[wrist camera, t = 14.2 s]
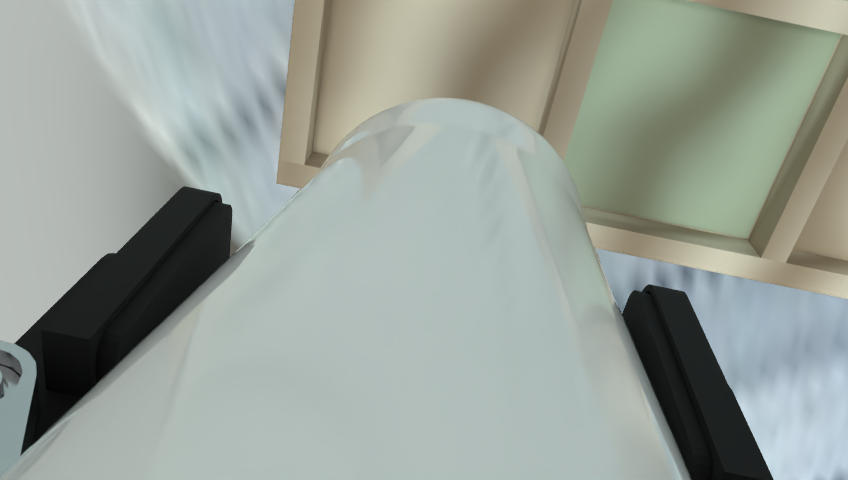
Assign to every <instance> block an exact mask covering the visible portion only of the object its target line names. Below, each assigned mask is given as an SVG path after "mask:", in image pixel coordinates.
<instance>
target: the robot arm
mask: <svg viewBox="0 0 848 480" xmlns="http://www.w3.org/2000/svg"><path fill="white" fill-rule="evenodd" d="M231 226H232V207H231V205H228V204H223V203H222V198H221V195H220V194H218V193H214V192H209V191H204V190H199V189H195V188H190V187H185V186H184V187H182V188H181V189H180V190H179V191H178V192H177V193H176V194H175V195H174V196H173V197H172V198H171V199H170V200H169V201H168V202H167V203H166V204H165V205H164V206H163V207H162V208H161V209H160V210H159V211H158V212H157V213H156V214H155V215H154V216H153V217H152V218H151V219H150V220H149V221H148V222H147V223H146V224H145V225H144V226H143V227H142V228H141V229H140V230H139V231H138V232H137V233H136V234H135V235H134V236H133V237H132V238H131V239H130V240H129V241H128V242H127V243H126V244H125V245H124V246H123V247H122V248H121V249H120V250H119V251H118V252H117V253H116V254H115V253H109V254H107V255H105V256H104V257H102V258H101V259H100V260H99V261H98V262H97V263H96V264H95V265H94V266H93V267H92V268H91V269H90V270H89V271H88V272H87V273H86V274H85V275H84V276H83V277H82V278H81V279H80V280H79V281H78V282H77V283H76V284H75V285H74V286H73V287H72V288H71V289H70V290H69V291H68V292H67V293H66V294H64V295H63V296H62V298H60V299H59V300H58V301H57V302H56V303H55V304H54V305H53V306H52V307H51V308H50V309H49V310H48V311H47V312H46V313H45V314H44V315H43V316H42V317H41V318H40V319H39V320H38V321H37V322H36V323H35V324H34V325H33V326H32V327H31V328H30V329H29V330H28V331H27V332H26V333H25V334H24V335H23V336H22V337H21V338H20V339H19V340H18V341H17V342H16V343H15V344H12V343H8V342H4V341H0V475H1V474H2V473H3V472H4V471H5V470H6V469H7V468H8V467H10V466H11V465H12V464H13V463H14V462H15V461H16V460H17V459H18V458H19V457H20V456H21V455H22V454H23V453H24V452H25V451H26V450H27V449H28V448H29V447H30V446H31V445H32V444H33V443H34V442H36V441H37V440H38V439H39V438H40V437H41V436H42V435H43V434H44V433H45V432H46V431H47V430H48V429H49V428H50V427H51V426H52V425H53V424H55V423H56V422H57V421H58V420H59V419H60V418H61V417H62V416H63V415H64V414H65V413H66V412H67V411H68V410H69V409H70V408H71V407H72V406H74V405H75V404H76V403H77V402H78V401H79V400H80V399H81V398H82V397H83V396H84V395H85V394H86V393H87V392H88V391H89V390H90V389H91V388H93V387H94V386H95V385H96V384H97V383H98V382H99V381H100V380H101V379H102V378H103V377H104V376H105V375H106V374H107V373H108V372H109V371H110V370H112V369H113V368H114V367H115V366H116V365H117V364H118V363H119V362H120V361H121V360H122V359H123V358H124V357H125V356H126V355H127V354H128V353H130V352H131V351H132V350H133V349H134V348H135V347H136V346H137V345H138V344H139V343H140V342H141V341H142V340H143V339H144V338H145V337H146V336H148V335H149V334H150V333H151V332H152V331H153V330H154V329H155V328H156V327H157V326H158V325H159V324H160V323H161V322H162V321H163V320H164V319H166V318H167V317H168V316H169V315H170V314H171V313H172V312H173V311H174V310H175V309H176V308H177V307H178V306H179V305H180V304H181V303H182V302H183V301H185V300H186V299H187V298H188V297H189V296H190V295H191V294H192V293H193V292H194V291H195V290H196V289H197V288H198V287H199V286H200V285H201V284H202V283H204V282H205V281H206V280H207V279H208V278H209V277H210V276H211V275H212V274H213V273H214V272H215V271H216V270H217V269H218V268H219V267H220V266H221V265H222V264H223V263H224V262H225V261H227V260H228V259H229V255H230V240H231ZM622 316H623V318H624V321H625V323H626V325H627V328H628V330H629V333H630V335H631V337H632V340H633V342H634V344H635V347H636V349H637V352H638V354H639V356H640V359H641V361H642V363H643V366H644V368H645V371H646V373H647V375H648V378H649V380H650V382H651V385H652V387H653V390H654V392H655V394H656V397H657V399H658V401H659V404H660V406H661V408H662V411H663V413H664V415H665V418H666V420H667V422H668V425H669V427H670V429H671V432H672V434H673V436H674V439H675V441H676V443H677V446H678V448H679V450H680V453H681V455H682V457H683V460H684V462H685V464H686V467H687V469H688V472H689V474H690V476H691V479H692V480H773V478H772V475H771V473H770V471H769V469H768V467H767V465H766V462H765V460H764V458H763V456H762V454H761V452H760V450H759V447H758V445H757V443H756V441H755V439H754V437H753V434H752V432H751V430H750V428H749V426H748V424H747V421H746V419H745V417H744V415H743V413H742V411H741V409H740V406H739V404H738V402H737V400H736V398H735V396H734V393H733V391H732V389H731V388H730V387H729V385H728V384H727V381H726V379H725V377H724V375H723V373H722V371H721V368H720V366H719V364H718V362H717V360H716V358H715V355H714V353H713V351H712V349H711V347H710V344H709V342H708V340H707V338H706V336H705V334H704V331H703V329H702V327H701V325H700V323H699V321H698V318H697V316H696V314H695V312H694V310H693V308H692V305H691V303H690V301H689V299H688V297H687V295H686V293H685V292H682V291H678V290H673V289H668V288H664V287H659V286H654V285H650V284H649V285H647V286H646V287H645V288H644V289H643V291H642V292H640V291H635V290H634V291H633V292H632V293H631V294H630V296H629V298H628V301H627V303H626V306H625V308H624V311H623V313H622Z"/></svg>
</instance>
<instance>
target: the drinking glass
mask: <svg viewBox="0 0 848 480" xmlns="http://www.w3.org/2000/svg"><path fill="white" fill-rule="evenodd" d="M0 480H692V479H691V476H690V474H689V472H688V469H687V467H686V464H685V462H684V460H683V457H682V455H681V453H680V450H679V448H678V446H677V443H676V441H675V439H674V436H673V434H672V432H671V429H670V427H669V425H668V422H667V420H666V418H665V415H664V413H663V411H662V408H661V406H660V404H659V401H658V399H657V397H656V394H655V392H654V390H653V387H652V385H651V382H650V380H649V378H648V375H647V373H646V371H645V368H644V366H643V363H642V361H641V359H640V356H639V354H638V352H637V349H636V347H635V344H634V342H633V340H632V337H631V335H630V333H629V330H628V328H627V325H626V323H625V321H624V318H623V316H622V313H621V311H620V309H619V306H618V304H617V301H616V299H615V297H614V294H613V292H612V289H611V287H610V284H609V282H608V280H607V277H606V275H605V272H604V270H603V267H602V265H601V262H600V260H599V258H598V255H597V253H596V250H595V248H594V245H593V243H592V240H591V238H590V235H589V233H588V229H587V224H586V219H585V215H584V211H583V207H582V203H581V199H580V195H579V192H578V190H577V187H576V184H575V182H574V180H573V178H572V176H571V174H570V172H569V170H568V168H567V166H566V165H565V163H564V162H563V160H562V158H561V157H560V156H559V155H558V153H557V152H556V151H555V149H554V148H553V147H552V146H551V145H550V144H549V143H548V142H547V141H546V140H545V139H544V138H543V137H542V136H541V135H540V134H539V133H538V132H537V131H535V130H534V129H533V128H532V127H531V126H529V125H528V124H526V123H525V122H523V121H522V120H520V119H519V118H517V117H515V116H513V115H511V114H509V113H507V112H505V111H503V110H501V109H498V108H496V107H493V106H490V105H487V104H484V103H480V102H476V101H471V100H466V99H458V98H428V99H420V100H414V101H409V102H406V103H402V104H399V105H396V106H393V107H391V108H388V109H386V110H383V111H381V112H379V113H377V114H376V115H374V116H372V117H370V118H368V119H367V120H365V121H364V122H362V123H361V124H359V125H358V126H357V127H356V128H355V129H353V130H352V131H351V132H350V133H349V134H347V135H346V136H345V137H344V138H343V140H342V141H341V142H340V143H339V144H338V145H337V146H336V147H335V148H334V150H333V151H332V152H331V154H330V155H329V156H328V157H327V159H326V160H325V162H324V163H323V164H322V166H321V167H320V169H319V170H318V171H317V173H316V174H315V175H314V176H313V177H312V178H311V179H310V180H309V181H308V182H307V183H306V184H305V185H304V186H303V187H302V188H301V189H300V190H299V191H298V192H297V193H296V194H295V195H294V196H293V197H292V198H291V199H290V200H289V201H288V202H287V203H286V204H285V205H284V206H283V207H282V208H281V209H280V210H279V211H278V212H276V213H275V214H274V215H273V216H272V217H271V218H270V219H269V220H268V221H267V222H266V223H265V224H264V225H263V226H262V227H261V228H260V229H259V230H258V231H257V232H256V233H255V234H254V235H253V236H252V237H251V238H250V239H249V240H247V241H246V242H245V243H244V244H243V245H242V246H241V247H240V248H239V249H238V250H237V251H236V252H235V253H234V254H233V255H232V256H231V257H230V258H229V259H228V260H227V261H225V262H224V263H223V264H222V265H221V266H220V267H219V268H218V269H217V270H216V271H215V272H214V273H213V274H212V275H211V276H210V277H209V278H208V279H207V280H206V281H205V282H204V283H202V284H201V285H200V286H199V287H198V288H197V289H196V290H195V291H194V292H193V293H192V294H191V295H190V296H189V297H188V298H187V299H186V300H185V301H183V302H182V303H181V304H180V305H179V306H178V307H177V308H176V309H175V310H174V311H173V312H172V313H171V314H170V315H169V316H168V317H167V318H166V319H164V320H163V321H162V322H161V323H160V324H159V325H158V326H157V327H156V328H155V329H154V330H153V331H152V332H151V333H150V334H149V335H148V336H146V337H145V338H144V339H143V340H142V341H141V342H140V343H139V344H138V345H137V346H136V347H135V348H134V349H133V350H132V351H131V352H130V353H128V354H127V355H126V356H125V357H124V358H123V359H122V360H121V361H120V362H119V363H118V364H117V365H116V366H115V367H114V368H113V369H112V370H110V371H109V372H108V373H107V374H106V375H105V376H104V377H103V378H102V379H101V380H100V381H99V382H98V383H97V384H96V385H95V386H94V387H93V388H91V389H90V390H89V391H88V392H87V393H86V394H85V395H84V396H83V397H82V398H81V399H80V400H79V401H78V402H77V403H76V404H75V405H74V406H72V407H71V408H70V409H69V410H68V411H67V412H66V413H65V414H64V415H63V416H62V417H61V418H60V419H59V420H58V421H57V422H56V423H55V424H53V425H52V426H51V427H50V428H49V429H48V430H47V431H46V432H45V433H44V434H43V435H42V436H41V437H40V438H39V439H38V440H37V441H36V442H34V443H33V444H32V445H31V446H30V447H29V448H28V449H27V450H26V451H25V452H24V453H23V454H22V455H21V456H20V457H19V458H18V459H17V460H16V461H15V462H14V463H13V464H12V465H11V466H10V467H8V468H7V469H6V470H5V471H4V472H3V473H2V474H1V475H0Z"/></svg>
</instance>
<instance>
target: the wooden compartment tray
mask: <svg viewBox="0 0 848 480" xmlns="http://www.w3.org/2000/svg"><path fill="white" fill-rule="evenodd" d="M428 98H458V99H466V100H471V101H476V102H480V103H484V104H487V105H490V106H493V107H496V108H498V109H501V110H503V111H505V112H507V113H509V114H511V115H513V116H515V117H517V118H519V119H520V120H522V121H523V122H525V123H526V124H528V125H529V126H531V127H532V128H533V129H534V130H535V131H537V132H538V133H539V134H540V135H541V136H542V137H543V138H544V139H545V140H546V141H547V142H548V143H549V144H550V145H551V146H552V147H553V148H554V149H555V151H556V152H557V153H558V155H559V156H560V157H561V158H562V160H563V162H564V163H565V165H566V166H567V168H568V170H569V172H570V174H571V176H572V178H573V180H574V182H575V184H576V187H577V190H578V192H579V195H580V199H581V203H582V207H583V211H584V215H585V219H586V224H587V229H588V233H589V235H590V238H591V240H592V243H593V245H594V248H598V249H603V250H608V251H613V252H618V253H623V254H628V255H633V256H638V257H643V258H648V259H653V260H658V261H663V262H667V263H672V264H677V265H682V266H687V267H692V268H697V269H702V270H707V271H712V272H717V273H722V274H727V275H732V276H737V277H742V278H747V279H751V280H756V281H761V282H766V283H771V284H776V285H781V286H786V287H791V288H796V289H801V290H806V291H811V292H816V293H821V294H826V295H831V296H835V297H840V298H845V299H848V0H295V4H294V14H293V24H292V34H291V44H290V54H289V64H288V74H287V83H286V93H285V103H284V113H283V123H282V133H281V143H280V153H279V163H278V172H277V182H276V183H277V184H282V185H287V186H292V187H297V188H302V187H303V186H304V185H305V184H306V183H307V182H308V181H309V180H310V179H311V178H312V177H313V176H314V175H315V174H316V173H317V171H318V170H319V169H320V167H321V166H322V164H323V163H324V162H325V160H326V159H327V157H328V156H329V155H330V154H331V152H332V151H333V150H334V148H335V147H336V146H337V145H338V144H339V143H340V142H341V141H342V140H343V138H344V137H345V136H346V135H347V134H349V133H350V132H351V131H352V130H353V129H355V128H356V127H357V126H358V125H359V124H361V123H362V122H364V121H365V120H367V119H368V118H370V117H372V116H374V115H376V114H377V113H379V112H381V111H383V110H386V109H388V108H391V107H393V106H396V105H399V104H402V103H406V102H409V101H414V100H420V99H428Z"/></svg>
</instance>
